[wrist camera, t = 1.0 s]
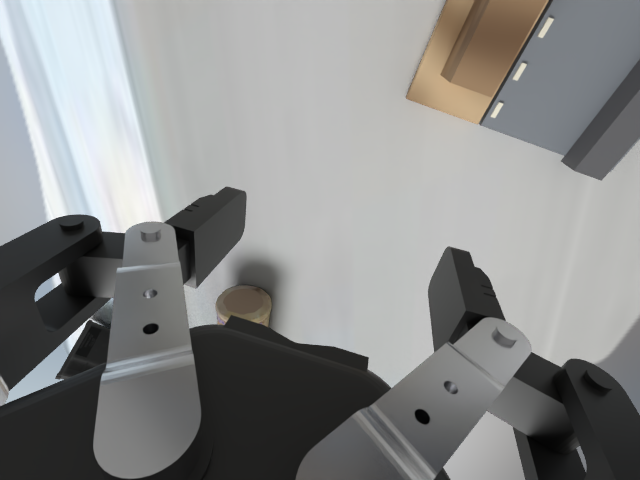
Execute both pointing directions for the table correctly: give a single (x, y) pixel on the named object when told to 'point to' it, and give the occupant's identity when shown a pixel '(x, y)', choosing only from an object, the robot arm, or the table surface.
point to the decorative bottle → (244, 304)
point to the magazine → (87, 351)
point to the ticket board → (576, 84)
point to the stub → (472, 54)
